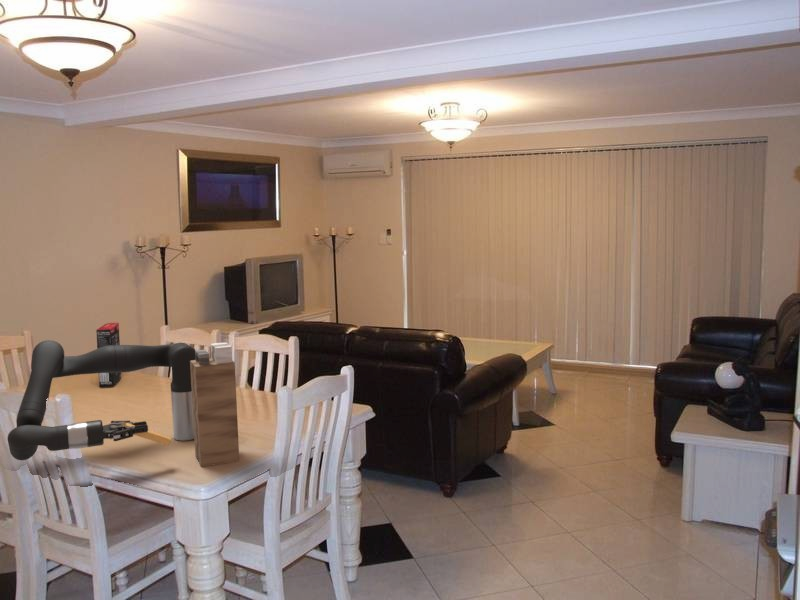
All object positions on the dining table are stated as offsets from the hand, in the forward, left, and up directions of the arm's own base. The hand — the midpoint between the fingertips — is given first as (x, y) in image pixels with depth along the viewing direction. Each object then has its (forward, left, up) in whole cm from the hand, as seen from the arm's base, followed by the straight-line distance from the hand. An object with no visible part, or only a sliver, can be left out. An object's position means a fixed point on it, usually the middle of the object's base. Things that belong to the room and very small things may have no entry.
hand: (146, 426), depth 214 cm
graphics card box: (-122, -3, -14) cm, 123 cm away
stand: (0, +21, -14) cm, 25 cm away
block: (0, 0, -3) cm, 3 cm away
